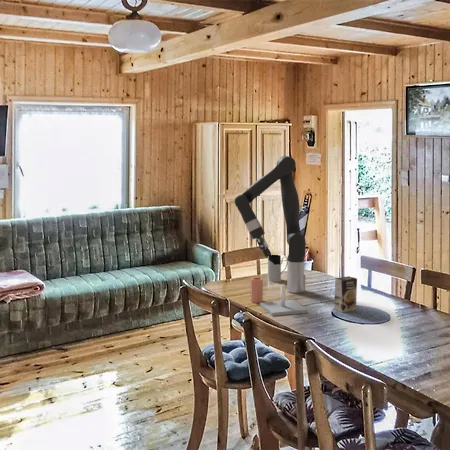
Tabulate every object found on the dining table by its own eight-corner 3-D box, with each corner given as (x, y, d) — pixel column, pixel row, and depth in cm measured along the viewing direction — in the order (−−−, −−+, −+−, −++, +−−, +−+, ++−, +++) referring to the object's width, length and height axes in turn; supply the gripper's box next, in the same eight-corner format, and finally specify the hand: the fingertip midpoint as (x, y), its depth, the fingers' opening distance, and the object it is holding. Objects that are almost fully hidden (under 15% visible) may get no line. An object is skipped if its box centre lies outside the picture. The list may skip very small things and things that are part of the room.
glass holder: (264, 279, 333) (264, 255, 331) (283, 276, 340) (283, 253, 338) (272, 282, 325) (272, 257, 323) (291, 279, 332) (292, 255, 330)
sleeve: (260, 299, 290) (260, 277, 288) (264, 302, 284) (264, 279, 283) (249, 300, 288) (249, 277, 287) (253, 303, 283) (253, 280, 281)
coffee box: (342, 313, 265) (342, 280, 263) (333, 309, 271) (334, 277, 268) (356, 310, 269) (357, 278, 267) (348, 307, 275) (348, 275, 273)
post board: (292, 302, 283) (293, 278, 281) (306, 312, 266) (307, 287, 264) (259, 305, 278) (259, 281, 277) (271, 315, 261) (272, 290, 259)
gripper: (259, 225, 286) (273, 253, 285) (263, 225, 300) (276, 251, 299) (246, 232, 288) (260, 259, 286) (251, 231, 302) (264, 258, 300)
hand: (268, 255), depth 293 cm, fingers open, 8 cm apart
